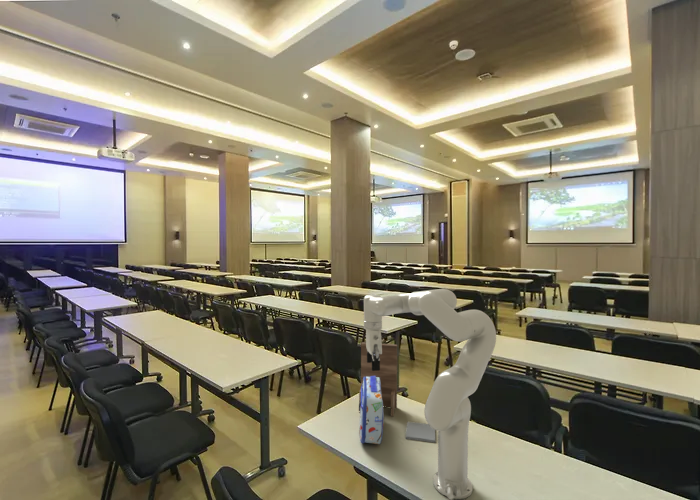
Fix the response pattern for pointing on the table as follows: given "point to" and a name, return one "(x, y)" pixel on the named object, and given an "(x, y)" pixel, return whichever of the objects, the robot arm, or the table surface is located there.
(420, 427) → the notebook
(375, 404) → the lunch box
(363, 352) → the display stand
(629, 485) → the table surface
